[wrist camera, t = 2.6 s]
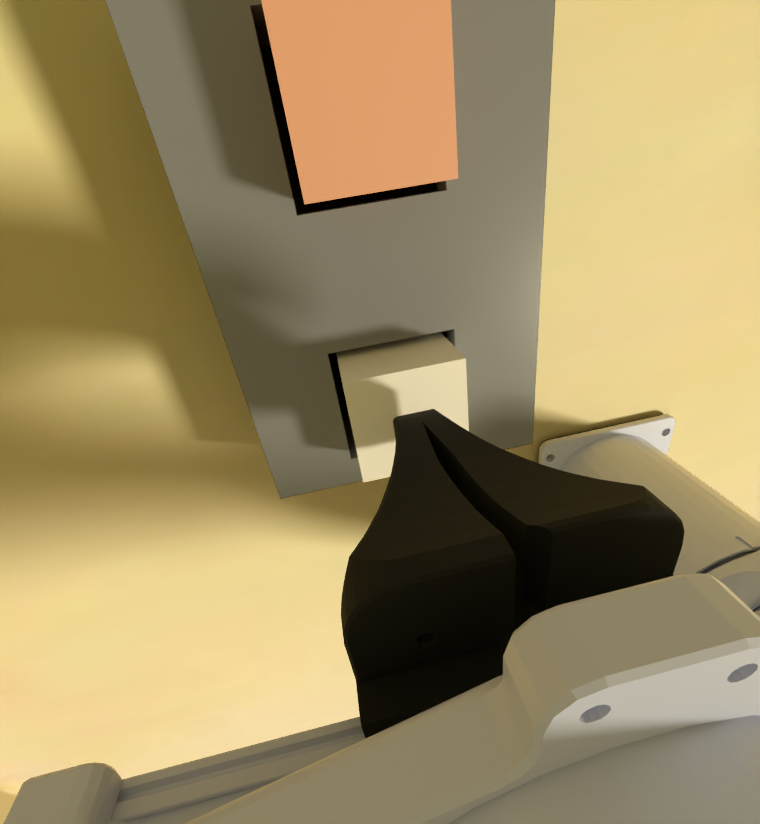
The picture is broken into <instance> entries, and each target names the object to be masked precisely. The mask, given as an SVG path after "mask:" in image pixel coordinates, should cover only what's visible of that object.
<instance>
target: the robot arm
mask: <svg viewBox="0 0 760 824" xmlns="http://www.w3.org/2000/svg"><path fill="white" fill-rule="evenodd" d="M393 426H394V433H395V439H396V446H395V456H394V461H393V467H392V472H391V475H390V479H389V483H388V486H387V489H386V492H385V494H384V497H383V499H382V502H381V505H380V507H379V509H378V511H377V513H376V515H375V517H374V519H373V521H372V523H371V524H370V526H369V528H368V530H367V532H366V533H365V535H364V537H363V538H362V540H361V541H360V542H359V544H358V545H357V547H356V548H355V550H354V551H353V552H352V554H351V555H350V557H349V561H348V565H347V570H346V574H345V580H344V585H343V592H342V603H341V619H342V628H343V637H344V644H345V647H346V651H347V654H348V657H349V660H350V663H351V666H352V669H353V672H354V675H355V678H356V684H357V693H358V703H359V712H360V717H357V718H353V719H349V720H346V721H342V722H338V723H334V724H331V725H327V726H323V727H319V728H315V729H312V730H308V731H304V732H300V733H297V734H293V735H289V736H285V737H281V738H278V739H274V740H270V741H266V742H263V743H259V744H255V745H251V746H248V747H244V748H240V749H236V750H232V751H229V752H225V753H221V754H217V755H214V756H210V757H206V758H202V759H198V760H195V761H191V762H187V763H183V764H180V765H176V766H172V767H168V768H165V769H161V770H157V771H153V772H149V773H146V774H142V775H138V776H134V777H131V778H127V779H123V780H122V779H121V777H120V776H119V774H118V773H117V772H116V770H115V769H114V768H112V767H111V766H109V765H107V764H103V763H88V764H83V765H79V766H75V767H71V768H67V769H63V770H60V771H56V772H52V773H48V774H44V775H40V776H37V777H33V778H30V779H28V780H27V781H25V782H24V783H23V784H22V786H21V788H20V790H19V792H18V795H17V797H16V799H15V801H14V803H13V805H12V807H11V809H10V811H9V813H8V816H7V818H6V820H5V822H4V824H760V522H759V521H757V520H756V519H755V518H753V517H752V516H750V515H749V514H748V513H746V512H745V511H743V510H742V509H741V508H739V507H738V506H737V505H735V504H734V503H732V502H731V501H730V500H728V499H727V498H725V497H724V496H723V495H721V494H720V493H719V492H717V491H716V490H714V489H713V488H712V487H710V486H709V485H708V484H706V483H705V482H703V481H702V480H701V479H699V478H698V477H696V476H695V475H694V474H692V473H691V472H690V471H688V470H687V469H685V468H684V467H683V466H681V465H680V464H678V463H677V462H676V461H674V460H673V459H672V458H670V457H669V456H667V453H668V449H669V446H670V442H671V438H672V434H673V430H674V426H675V418H674V417H672V416H670V415H668V414H665V415H660V416H656V417H651V418H647V419H642V420H638V421H633V422H628V423H624V424H619V425H615V426H610V427H606V428H601V429H597V430H592V431H588V432H583V433H579V434H574V435H569V436H565V437H560V438H556V439H551V440H547V441H545V442H544V443H542V445H541V446H540V449H539V463H536V462H533V461H530V460H527V459H525V458H522V457H520V456H517V455H515V454H512V453H510V452H507V451H505V450H503V449H501V448H499V447H497V446H495V445H493V444H491V443H489V442H487V441H485V440H483V439H481V438H479V437H478V436H476V435H474V434H472V433H471V432H469V431H467V430H466V429H464V428H462V427H461V426H459V425H458V424H456V423H454V422H453V421H451V420H450V419H448V418H447V417H445V416H444V415H442V414H441V413H439V412H438V411H436V410H435V409H430V410H425V411H421V412H416V413H411V414H406V415H402V416H397V417H395V418H394V420H393ZM550 454H551V455H550ZM548 455H550V456H549V457H548V458H547V456H548Z"/></svg>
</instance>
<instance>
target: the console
mask: <svg viewBox="0 0 760 824" xmlns="http://www.w3.org/2000/svg"><path fill="white" fill-rule="evenodd" d="M105 1H106V3H107V6H108V9H109V12H110V15H111V18H112V20H113V23H114V26H115V29H116V32H117V35H118V38H119V40H120V43H121V46H122V49H123V52H124V55H125V57H126V60H127V63H128V66H129V69H130V72H131V75H132V77H133V80H134V83H135V86H136V89H137V92H138V94H139V97H140V100H141V103H142V106H143V109H144V112H145V114H146V117H147V120H148V123H149V126H150V129H151V132H152V134H153V137H154V140H155V143H156V146H157V149H158V151H159V154H160V157H161V160H162V163H163V166H164V169H165V171H166V174H167V177H168V180H169V183H170V186H171V188H172V191H173V194H174V197H175V200H176V203H177V206H178V208H179V211H180V214H181V217H182V220H183V223H184V225H185V228H186V231H187V234H188V237H189V240H190V243H191V245H192V248H193V251H194V254H195V257H196V260H197V263H198V265H199V268H200V271H201V274H202V277H203V280H204V282H205V285H206V288H207V291H208V294H209V297H210V300H211V302H212V305H213V308H214V311H215V314H216V317H217V319H218V322H219V325H220V328H221V331H222V334H223V337H224V339H225V342H226V345H227V348H228V351H229V354H230V356H231V359H232V362H233V365H234V368H235V371H236V374H237V376H238V379H239V382H240V385H241V388H242V391H243V393H244V396H245V399H246V402H247V405H248V408H249V411H250V413H251V416H252V419H253V422H254V425H255V428H256V431H257V433H258V436H259V439H260V442H261V445H262V448H263V450H264V453H265V456H266V459H267V462H268V465H269V468H270V470H271V473H272V476H273V479H274V482H275V485H276V487H277V490H278V493H279V496H280V499H282V498H287V497H291V496H296V495H300V494H305V493H309V492H314V491H319V490H323V489H328V488H332V487H337V486H341V485H346V484H350V483H355V482H359V481H363V479H362V474H361V470H360V465H359V460H358V455H357V451H356V446H355V441H354V436H353V432H352V427H351V422H350V418H349V415H348V416H343V417H342V413H341V409H340V404H339V400H338V395H337V391H336V386H335V382H334V377H333V373H332V368H331V364H330V359H329V355H328V354H330V353H335V352H340V351H345V350H350V349H355V348H360V347H366V346H371V345H376V344H381V343H386V342H391V341H396V340H401V339H406V338H411V337H417V336H422V335H427V334H432V333H437V332H442V331H447V339H448V340H449V341H450V342H451V344H452V345H453V346H454V347H455V348H456V349H457V350H458V351H459V352H460V353H461V354H462V355H463V356H464V357H465V358H466V372H467V396H468V420H469V432H471V433H472V434H474V435H476V436H478V437H479V438H481V439H483V440H485V441H487V442H489V443H491V444H493V445H495V446H497V447H499V448H501V449H503V450H505V449H509V448H514V447H518V446H523V445H527V444H532V441H533V422H534V402H535V383H536V364H537V344H538V325H539V305H540V286H541V267H542V247H543V228H544V209H545V189H546V170H547V150H548V131H549V112H550V92H551V73H552V53H553V34H554V15H555V0H451V13H452V37H453V61H454V85H455V109H456V133H457V157H458V179H452V180H447V181H441V182H437V191H431V192H425V193H420V194H414V195H408V196H402V197H396V198H390V199H384V200H378V201H373V202H367V203H361V204H355V205H349V206H343V207H337V208H331V209H326V210H320V211H314V212H308V213H302V214H297V210H296V206H295V201H294V197H293V192H292V188H291V183H290V179H289V174H288V170H287V165H286V161H285V156H284V152H283V147H282V143H281V138H280V134H279V129H278V125H277V120H276V116H275V111H274V107H273V102H272V98H271V93H270V89H269V84H268V80H267V75H266V71H265V66H264V62H263V57H262V53H261V48H260V47H267V46H271V44H270V40H269V35H268V30H267V26H266V21H265V16H264V11H263V7H262V2H261V0H105Z"/></svg>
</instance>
